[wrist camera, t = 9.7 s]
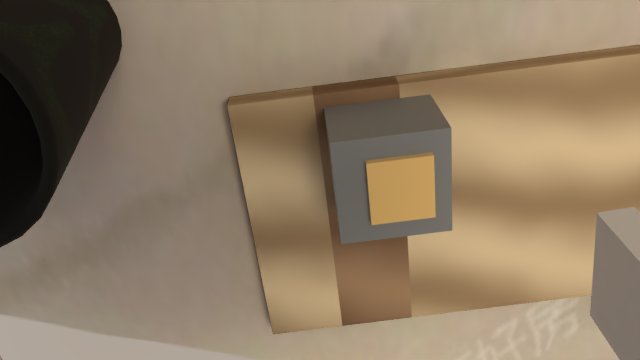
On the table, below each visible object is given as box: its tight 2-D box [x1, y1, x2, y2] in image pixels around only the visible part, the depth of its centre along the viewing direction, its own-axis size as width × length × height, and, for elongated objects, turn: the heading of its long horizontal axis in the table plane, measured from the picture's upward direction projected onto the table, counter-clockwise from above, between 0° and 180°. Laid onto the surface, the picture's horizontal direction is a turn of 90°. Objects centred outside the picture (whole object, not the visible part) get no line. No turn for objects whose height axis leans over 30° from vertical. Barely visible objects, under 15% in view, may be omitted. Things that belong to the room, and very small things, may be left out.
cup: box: [0, 0, 122, 247], centre depth 21 cm, size 8×8×12 cm
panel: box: [227, 45, 640, 334], centre depth 31 cm, size 14×24×1 cm, turn 97°
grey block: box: [324, 94, 452, 244], centre depth 27 cm, size 5×5×4 cm
